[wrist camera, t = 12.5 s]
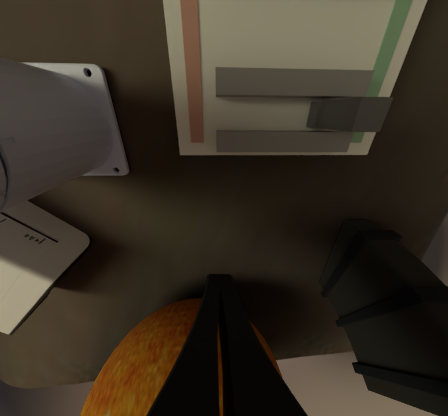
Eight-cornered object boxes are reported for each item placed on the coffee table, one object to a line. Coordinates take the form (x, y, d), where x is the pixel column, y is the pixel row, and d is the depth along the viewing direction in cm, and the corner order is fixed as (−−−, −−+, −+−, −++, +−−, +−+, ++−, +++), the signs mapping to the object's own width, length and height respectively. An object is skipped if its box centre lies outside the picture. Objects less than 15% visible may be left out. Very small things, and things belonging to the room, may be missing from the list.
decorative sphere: (280, 271, 24) (470, 725, 6) (245, 345, 33) (280, 611, 15) (126, 256, 21) (-307, 954, 4) (135, 341, 30) (25, 653, 13)
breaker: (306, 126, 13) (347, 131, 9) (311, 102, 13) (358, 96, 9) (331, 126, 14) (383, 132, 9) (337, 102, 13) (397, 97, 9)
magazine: (399, 199, 17) (596, 444, 8) (328, 251, 28) (382, 382, 19) (362, 199, 17) (525, 450, 8) (306, 251, 28) (349, 384, 19)
